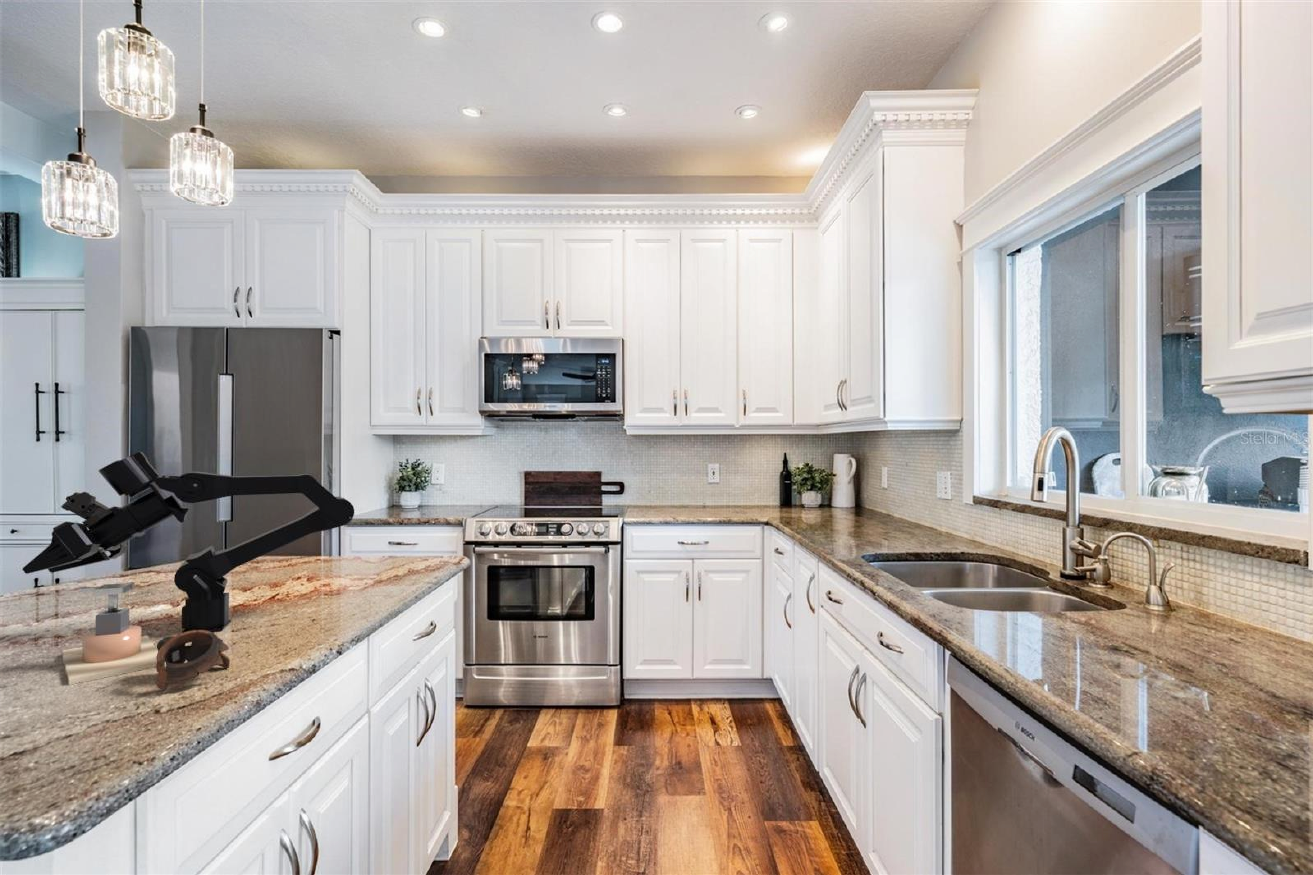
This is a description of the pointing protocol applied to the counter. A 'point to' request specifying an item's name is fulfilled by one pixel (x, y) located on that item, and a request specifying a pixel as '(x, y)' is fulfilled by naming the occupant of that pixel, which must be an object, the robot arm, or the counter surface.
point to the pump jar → (111, 638)
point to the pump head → (109, 593)
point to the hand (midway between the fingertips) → (37, 571)
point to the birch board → (107, 663)
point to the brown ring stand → (188, 656)
